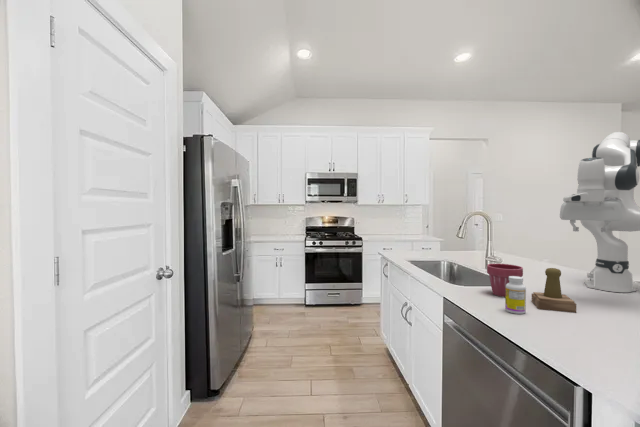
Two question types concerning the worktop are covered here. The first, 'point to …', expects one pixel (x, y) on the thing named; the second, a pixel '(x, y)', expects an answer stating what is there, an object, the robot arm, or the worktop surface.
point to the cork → (553, 283)
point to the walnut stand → (553, 303)
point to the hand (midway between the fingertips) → (589, 231)
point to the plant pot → (502, 276)
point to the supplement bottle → (515, 295)
